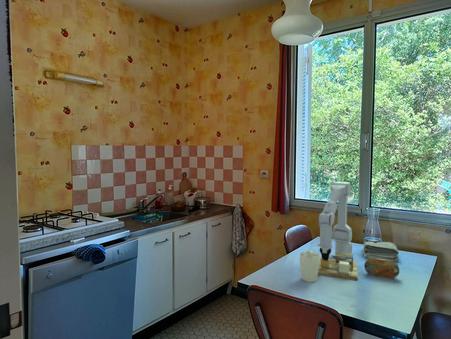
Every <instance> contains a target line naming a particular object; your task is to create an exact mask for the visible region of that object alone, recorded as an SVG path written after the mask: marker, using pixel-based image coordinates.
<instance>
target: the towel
mask: <svg viewBox="0 0 451 339" xmlns="http://www.w3.org/2000/svg"><path fill="white" fill-rule="evenodd" d="M374 242H375V241H368V242H367V240H366V241H365V242H364V244H363V247H362V254H363V257H364V258H365V259H369V258H378V259H385V260H391V261H394V262H397V261H398V260H399V249H398V247H397V245H396V244H394V243H393V242H390V241H389V242H388V241H387V242H386V241H376V242H377V243H374Z"/></svg>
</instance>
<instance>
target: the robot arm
mask: <svg viewBox="0 0 451 339" xmlns="http://www.w3.org/2000/svg"><path fill="white" fill-rule="evenodd" d="M329 189H330V193H331V194H330V197H329V201H327V202H326V203H325V205H324V208H323V210H322V212H321V213H319V215H318V226H319V243H317V247H320V248H319V252H320V255H321V257H322V260H328V258H330V254H331V253H332V248H333V245H332V243H333V242H332V241H333V240H334V243H335V244H334V253H333V254H331V256H333V257H335V258H336V252H339V253H347V254H353V245H352V242H351V241H352V239H353V230H352V228H351V227H350V226H349V225H348V224H347V223H348V222H347V221H348V220H347V219H348V197H351V194H352V185H351V183H350V182H345V181H343V182H342V181H331V183H330V186H329ZM337 204H338V205H337ZM336 211H337V224H335V225H334V223H335V216H336V215H335V214H336ZM333 225H334V226H333ZM337 259H339V260H347V258H343V257H337Z"/></svg>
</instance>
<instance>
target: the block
mask: <svg viewBox="0 0 451 339" xmlns="http://www.w3.org/2000/svg"><path fill="white" fill-rule="evenodd" d="M339 272H345V273H349V262H344V261H339Z"/></svg>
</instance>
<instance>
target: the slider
mask: <svg viewBox="0 0 451 339" xmlns="http://www.w3.org/2000/svg"><path fill="white" fill-rule="evenodd" d="M321 268H328V269H335V270H337V273H342V274H349V275H351V267H349V273H345V272H339V265H338V267H331V266H329V260H322V259H321Z"/></svg>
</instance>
